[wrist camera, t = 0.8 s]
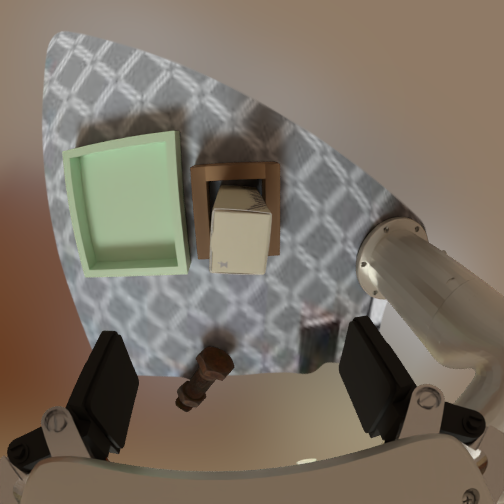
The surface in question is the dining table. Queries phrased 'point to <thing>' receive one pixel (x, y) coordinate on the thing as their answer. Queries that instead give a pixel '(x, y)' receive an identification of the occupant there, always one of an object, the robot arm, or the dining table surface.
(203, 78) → the dining table surface
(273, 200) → the frame
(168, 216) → the tray
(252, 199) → the box
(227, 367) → the bolt
